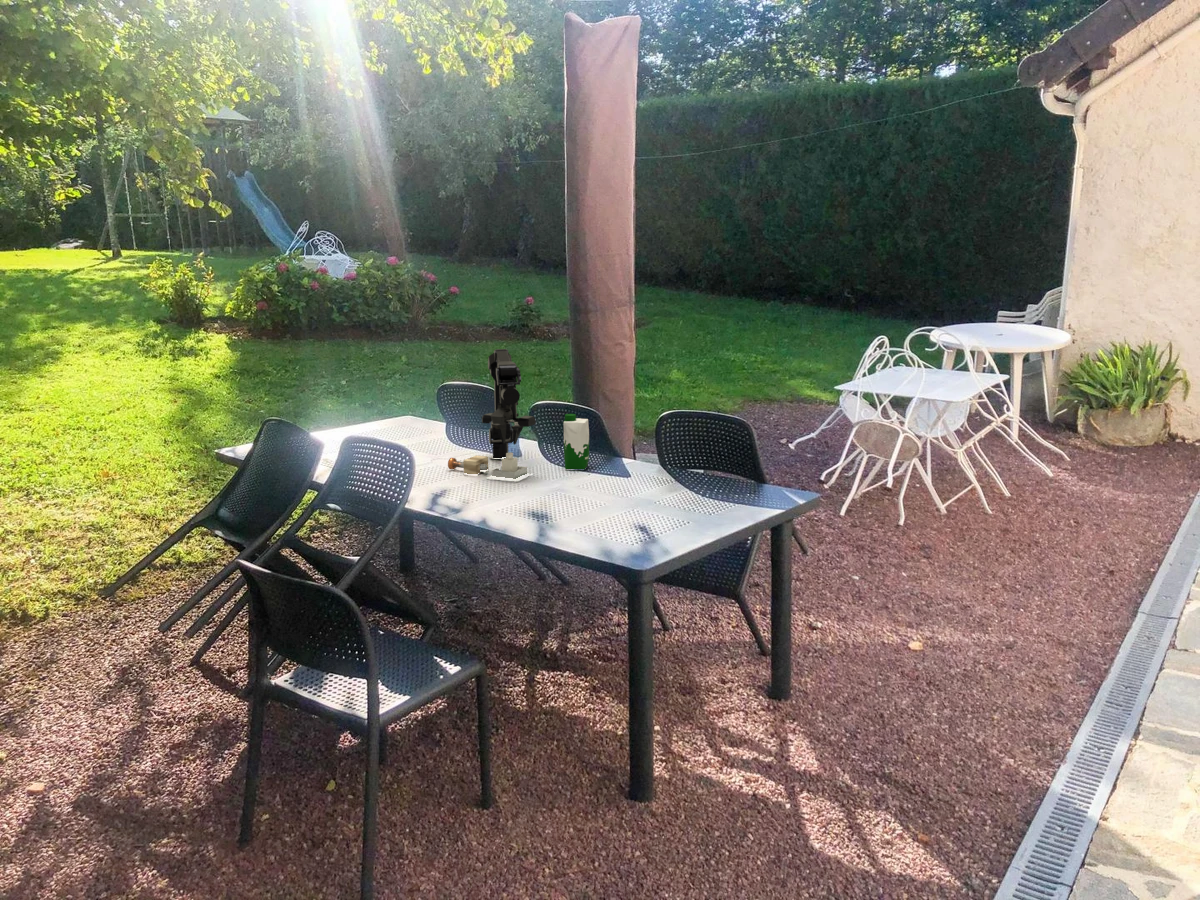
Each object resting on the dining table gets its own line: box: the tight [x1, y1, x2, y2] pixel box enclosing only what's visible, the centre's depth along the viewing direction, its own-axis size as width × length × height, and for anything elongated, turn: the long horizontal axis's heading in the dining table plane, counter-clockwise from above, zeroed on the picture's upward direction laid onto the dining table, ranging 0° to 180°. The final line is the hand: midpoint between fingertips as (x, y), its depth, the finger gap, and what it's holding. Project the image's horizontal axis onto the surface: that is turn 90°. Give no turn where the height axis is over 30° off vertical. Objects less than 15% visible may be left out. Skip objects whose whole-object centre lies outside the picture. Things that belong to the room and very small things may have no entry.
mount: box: [462, 455, 489, 474], centre depth 342 cm, size 9×5×5 cm, turn 155°
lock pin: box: [447, 457, 487, 470], centre depth 343 cm, size 4×15×4 cm, turn 65°
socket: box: [491, 465, 528, 479], centre depth 336 cm, size 12×12×3 cm
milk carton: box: [563, 413, 590, 470], centre depth 346 cm, size 9×9×20 cm
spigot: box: [501, 451, 519, 472], centre depth 336 cm, size 4×4×8 cm
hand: (509, 443), depth 334 cm, fingers open, 4 cm apart
